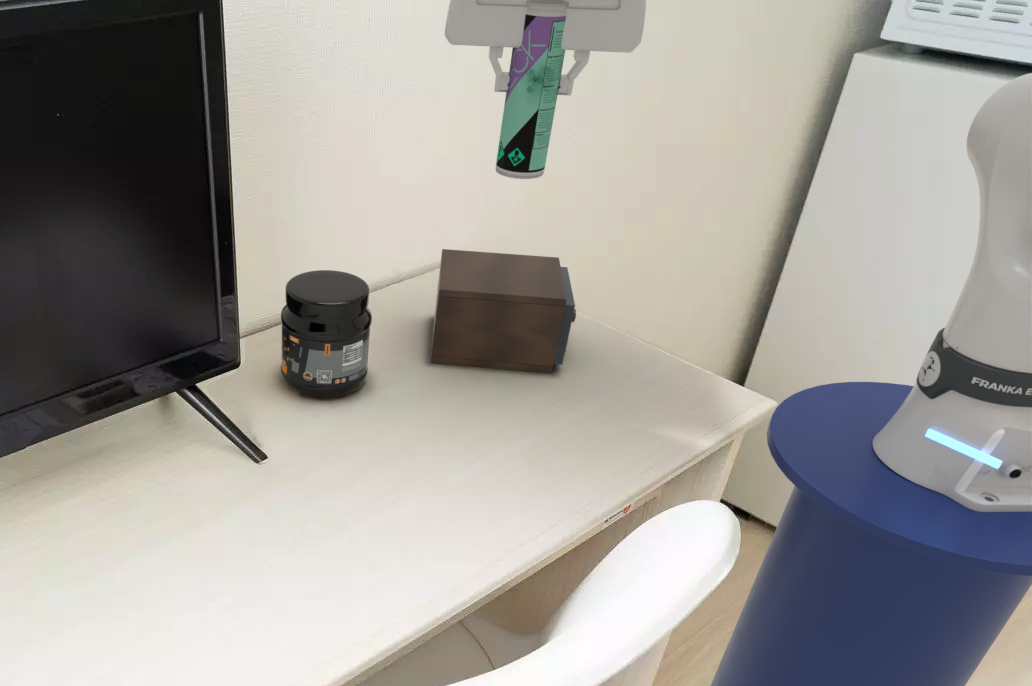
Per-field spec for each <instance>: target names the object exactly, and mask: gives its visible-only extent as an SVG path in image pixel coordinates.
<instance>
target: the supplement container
mask: <svg viewBox="0 0 1032 686" xmlns="http://www.w3.org/2000/svg"><path fill="white" fill-rule="evenodd" d="M284 297H285V304H284V306H283V307H282V309H281V311H280V322H281V361H280V362H281V363H280V375H281V377H282V379H283V382H285V384H286V385H287V386H288V387H290V388H291V389H293V390H294V391H296V392H298V393H300V394H303V395H306V396H310V397H315V398H335V397H340V396H345V395H348V394H350V393H353V392H355V391H356V390H358V389H359V388H361V387H362V386H363V384H365V381H366V380H367V377H368V372H369V370H368V369H369V366H368V362H369V348H370V336H371V335H370V333H371V325H372V322H373V314H372V311H371V309H370V308H369V307H368V306H369V303H370V287H369V284H368V283H367V282H366V281H365V280H364V279H363V278H361V277H360V276H357V275H355V274H352V273H349V272H346V271H340V270H332V269H323V270H322V269H320V270H319V269H318V270H311V271H305V272H301V273H299V274H297V275H295V276H293V277H291V278H290V279H289V280H288V281H287V282H286V285H285V296H284Z"/></svg>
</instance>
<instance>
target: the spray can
mask: <svg viewBox="0 0 1032 686" xmlns="http://www.w3.org/2000/svg"><path fill="white" fill-rule="evenodd" d="M526 5H527V6H528V7H529V8H528V9H527V10H526V15H525V23H524V31H523V39H522V43H521V46H520V47H519V48H513V47H512V51H511V57H510V64H509V69H508V70H509V71H508V72H509V75H510V82H509V84H508V86H509V89H508V92H505V99H504V107H503V113H502V118H501V119H502V121H501V126H500V134H499V140H498V148H497V154H496V161H495V172H496V173H497V174H498V175H501V176H503V177H506V178H509V179H516V180H517V179H518V180H532V179H537V178H541V177H542V176H543V175H544V173H545V168H546V164H547V163H546V162H547V158H548V151H549V146H550V140H551V135H552V128H553V124H554V123H553V122H554V117H555V112H556V107H557V100H558V95H557V93H558V88H559V82H560V77H561V75H562V72H563V66H564V60H565V55H566V50H562V49H561V41H562V36H563V30H564V25H565V20H566V15H567V12H566V10H565V8H567V6H568V5H569V3H566V2H565V1H563V0H531V1H530V2H528V1H527V2H526Z"/></svg>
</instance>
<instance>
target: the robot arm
mask: <svg viewBox="0 0 1032 686" xmlns="http://www.w3.org/2000/svg"><path fill="white" fill-rule="evenodd" d="M527 1H528V2H530V1H531V0H449V4H448V9H447V15H446V20H445V29H444V37H445V38H446V40H447V42H448V43H449V44H450V45H451V46H452V45H453V46H469V47H470V46H472V47H489V48H488V59H489V62H490V65H491V67H492V69H493V72H494V75H495V80H494V87H493V90H494V92H495V93H506V92H508V89H509V86H508V84H509V82H510V75H509V71H503V69H502V66H501V64H500V61H499V59H502V58H503V53H504V48H512V49H513V48H519V47H520V46H521V43H522V39H523V31H524V23H525V15H526V10H527V9H528V8H529V7H528V6H527V5H526V2H527ZM563 1H565V2H566V3H569V5H568V6H567V8H565V10H566V12H567V15H566V20H565V25H564V30H563V36H562V41H561V49H562V50H565V51H573V60H574V61H575V62H574V64H573V65H572V66H571V68H570V69H569V71H567V74H561V77H560V82H559V88H558V93H557V96H569V97H571V96H572V93H573V88H574V83H575V80H576V79H577V78H578V76H579V75H580V74H581V72H582V71H583V70H584V69H585V67H586V66H588V65H587V64H588V63H589V59H590V54H591V52H605V53H628V54H629V53H633V51H634V50H636V49H637V48H638V47H639V46H640V45H641V43H642V40H643V33H644V27H645V20H646V10H647V0H563ZM966 137H967V138H966V153H967V157H968V159H969V161H970V163H971V165H972V168H973V170H974V173H975V176H976V180H977V184H978V191H979V193H978V194H979V225H978V235H977V242H976V248H975V253H974V257H973V261H972V264H971V268H970V270H969V273H968V275H967V277H966V280H965V282H964V285H963V287H962V290H961V292H960V294H959V297H958V299H957V301H956V303H955V305H954V307H953V310H952V312H951V315H950V317H949V318H948V320H947V323H946V325H945V326H944V327H943V328H941V329H940V330H939V331H938V332H937V334H936V335H935V337H934V339H933V341H932V343H931V344H930V347H929V349H928V351H927V353H926V355H925V357H924V359H923V362H922V363H921V366H920V368H919V370H918V373H917V377H916V381H915V383H914V385H913V386H914V387H913V389H912V390H911V392H910V393H909V395H908V396H907V398H906V399H905V401H904V402H903V404H902V405H901V406H900V408H899V409H898V411H897V412H896V413H895V415H894V416H893V417H892V418H891V419H890V421H889V422H888V423H887V424H886V425H885V426H884V427H883V429H882V430H881V431H880V432H879V433H878V434H876V436H875V437H874V439H873V449H874V451H875V453H876V455H877V456H878V457H879V459H880V460H881V461H882V462H883V463H884V464H885V465H887V466H888V467H889V468H890V469H892V470H893V471H894V472H896V473H898V474H899V475H901V476H902V477H904V478H906V479H908V480H910V481H912V482H914V483H916V484H918V485H921V486H923V487H925V488H928V489H931V490H933V491H936V492H939V493H941V494H943V495H946V496H948V497H949V498H951V499H953V500H954V501H956V502H958V503H959V504H961V505H963V506H965V507H967V508H969V509H971V510H974V511H978V512H1032V72H1030V73H1029V72H1028V73H1026V74H1022V75H1019V76H1018V77H1017V76H1016V77H1015V78H1013V79H1011V80H1009V81H1008V82H1006V83H1005V84H1004V85H1002V86H1001V87H999V88H998V89H997V90H996V91H994V92H993V93H992V94H991V95H990V96H989V98H987V100H986V101H984V103H983V104H982V105H981V106H980V108H979V109H978V111H977V112H976V114H975V116H974V118H973V119H972V122H971V124H970V126H969V130H968V133H967V136H966Z"/></svg>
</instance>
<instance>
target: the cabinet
mask: <svg viewBox="0 0 1032 686" xmlns="http://www.w3.org/2000/svg"><path fill="white" fill-rule="evenodd" d="M440 256H441V257H440V264H439V272H438V273H439V274H438V280H437V281H438V282H437V291H436V299H435V305H434V306H435V308H434V315H433V325H432V326H433V327H432V338H431V350H430V363H432V364H441V365H454V366H467V367H477V368H487V369H488V368H489V369H500V370H511V371H522V372H535V373H544V374H552V371H553V368H554V367H553V366H554V364H553V363H554V358H555V353H556V348H557V344H558V339H559V334H560V329H561V324H562V320H563V315H564V310H565V305H566V301H567V298H566V293H565V288H564V282H563V277H562V272H561V267H562V266H561V262H560V258H559V256H558V257H557V256H543V255H541V256H540V255H528V254H514V253H499V252H489V251H488V252H487V251H473V250H461V249H449V248H448V249H446V248H442V249H441V255H440Z"/></svg>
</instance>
